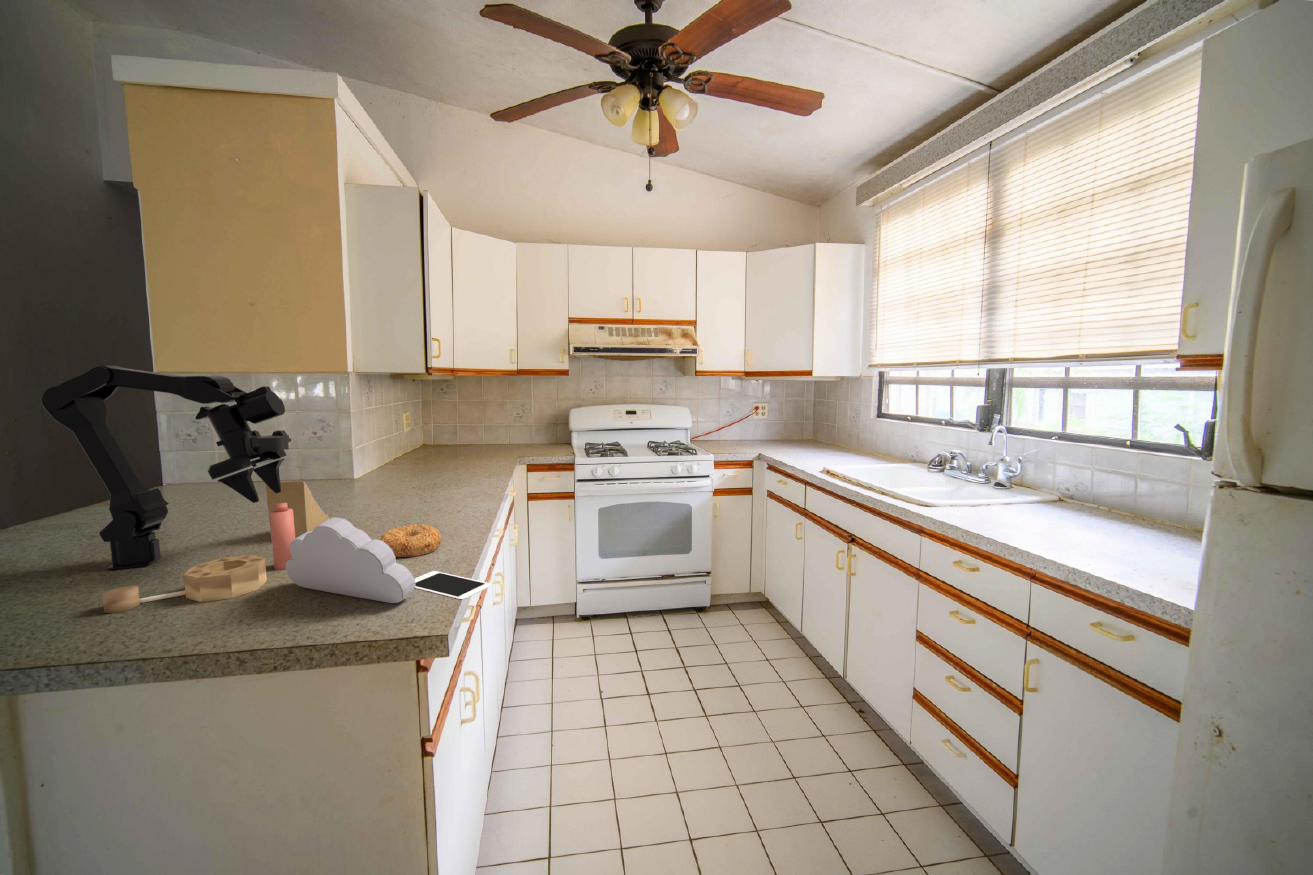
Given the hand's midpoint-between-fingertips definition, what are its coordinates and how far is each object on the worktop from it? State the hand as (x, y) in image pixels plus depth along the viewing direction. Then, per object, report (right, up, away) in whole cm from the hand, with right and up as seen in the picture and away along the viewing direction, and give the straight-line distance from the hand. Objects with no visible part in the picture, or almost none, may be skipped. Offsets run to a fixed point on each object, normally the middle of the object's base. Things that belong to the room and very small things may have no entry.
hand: (268, 497), depth 116 cm
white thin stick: (-3, -16, -21) cm, 26 cm away
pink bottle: (+7, -14, -5) cm, 17 cm away
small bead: (-7, -16, -25) cm, 30 cm away
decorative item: (+29, -16, -18) cm, 38 cm away
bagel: (+29, -13, +6) cm, 32 cm away
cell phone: (+45, -16, -14) cm, 50 cm away
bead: (+5, -15, -17) cm, 23 cm away
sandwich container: (-5, -12, +20) cm, 24 cm away
